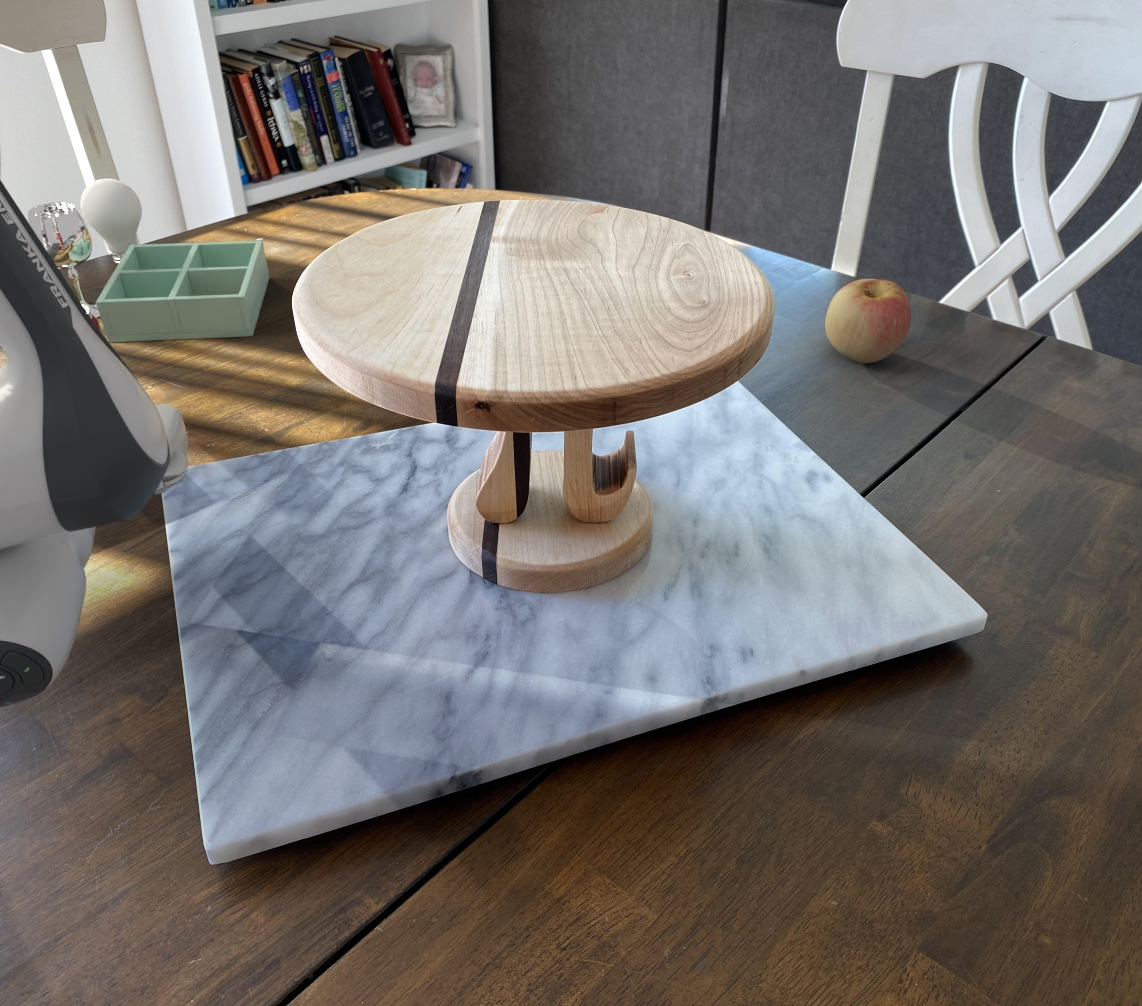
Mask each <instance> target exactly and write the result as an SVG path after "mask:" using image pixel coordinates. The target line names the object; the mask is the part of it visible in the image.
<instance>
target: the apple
mask: <svg viewBox="0 0 1142 1006" xmlns="http://www.w3.org/2000/svg"><path fill="white" fill-rule="evenodd" d="M824 321H825V323H824V328H825V333H826V336H827V339H828V341H829V343H830V344H831V345H832V347H833V348H834V349H835V350H836V351H837V352H838V353H840V354H841V355H843V356H845V357H846V358H848V359H850V360H852V361H854V362H858V363H862V364H872V363H873V364H874V363H876V362H879V361H882V360H884V359H886V358H888V357H889V356H891V354H893V353H894V352H895V351H896V350H897V349H898V348H899V347H900V346H901V345H902V343H903V341H905V339H906V337H907V335H908V333H909V330H910V327H911V323H912V307H911V303H910V300H909V297H908V295H907V293H906V292H905V290H904V289H903V288H902V287H901V286H900V285H899V284H897V283H896V282H894V281H891V280H887V279H879V278H861V279H857V280H856V279H855V280H854V281H851V282H850V283H848V284H846V285H844V286H843V287H842V288H840V289H839V290H838V291H837V292H836V293H835V295H834V296H833V297H832V299H831V301H830V303H829V305H828V308H827V312H826V315H825V320H824Z"/></svg>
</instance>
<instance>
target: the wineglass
mask: <svg viewBox="0 0 1142 1006" xmlns="http://www.w3.org/2000/svg"><path fill="white" fill-rule="evenodd" d="M27 221H28V223H29V224H30V226H31V227H32V229H33V230H34V232H35V234H36V235H37V237H38V238H39V240H40V241H41V243H42V244H43V246H44V247H45V249H46V250H47V252H48V253H49V255H50V257H51V258H52V260H53V261H54V263H55V264H56V266H57V267H58V269H68V270H67V275H68V278H69V280H70V281H71V282H72V285H73V286H74V288H75V291H76V295H77V298H78V300H79V301H80V303H81V304H84V305H86V306H88V307H89V308H90V311H91V312H90V313H91V314H92V315H93V316H94V317H95V318H96V319H97V318H101V317H100V314H99V311H98V308H97V305H96V302H87V301H86V300H85V298H84V296H83V293H82V290H81V286H80V277H79V272H78V271H77V270H76V267H78V266H81V265H82V264H84V263H85V262H86V261H88V259H90V256H91V254H92V251H93V241H92V237H91V234H90V232H89V228H88V226H87V224H86V222H85V219H84V217H82V215H81V213H80V212H79V210H78V208H77V206H76V205H75V204H74V203H71V202H68V201H67V202H66V201H53V202H47V203H42V204H38V205H36V206H34V207H32V208H30V209H29V210H28V212H27Z"/></svg>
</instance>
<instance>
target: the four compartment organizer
mask: <svg viewBox="0 0 1142 1006" xmlns="http://www.w3.org/2000/svg"><path fill="white" fill-rule="evenodd" d="M269 272H270V271H269V268H268V262H267V257H266V252H265V247H264V242H263V240H241V241H239V240H238V241H213V242H210V241H209V242H181V243H179V242H177V243H148V244H147V243H146V244H145V243H144V244H143V243H142V244H137V245H130V246H129V247H128V249H127V251H126V252H125V254H124V256H123V257H122V259H121V261H120V262H119V264H118V266H117V265H116V268H115V269H114V271H113V272H112V274H111V276H110V277H109V279H108V281H107V283H106V284H105V286H104V288H103V289H102V291H101V292H100V295H99V296H98V298H97V300H96V301H95V303H96V305H97V308H98V311H99V314H100V317H99V318H100V320H101V323H102V327H103V330H104V332H105V335H106V339H107V341H108V342H109V343H126V342H127V343H128V342H129V343H130V342H151V341H154V342H155V341H173V340H174V341H175V340H195V339H197V340H200V339H218V338H219V339H221V338H223V339H224V338H244V337H253V336H254V333H255V330H256V327H257V323H258V320H259V316H260V312H261V309H262V305H263V302H264V299H265V296H266V291H267V288H268V284H269V281H270V273H269Z"/></svg>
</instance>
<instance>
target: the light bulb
mask: <svg viewBox="0 0 1142 1006" xmlns="http://www.w3.org/2000/svg"><path fill="white" fill-rule="evenodd" d="M80 197H81V198H80V201H79V202H80V203H79V204H80V205H79V207H80V211H81V214H82V216H83V220H84V221H86V222H85V223H87V225H89V227H91V228H92V229H93V230H94V231H95V232H96V233H97V234H98V235H99V236H100V237H101V238H102V240H103V241H104V243H105V244H106V247H107V249H108V251H109V252H110V253H111V256H112V259H113V263H115V266H116V267H117V266H118V264H119V262H120V261H121V259H122V257H123V256H124V254H125V252H126V251H127V249H128V247H129V246H130V245H138V241H137V232H138V229H139V227H140V223H141V220H142V215H143V208H142V207H143V206H142V203H141V200H140V198H139V197H138V195H137V193H136V192H135V191H134V189H133V188H132V187H130V186H129V185H128V184H126V183H125V182H123V181H121V180H118V179H114V178H100V179H96V180H94V181H93V182H91V183H89V184H88V185H87V186H86V187H85V188H84V190H83V191H82V194H81V196H80Z"/></svg>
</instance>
